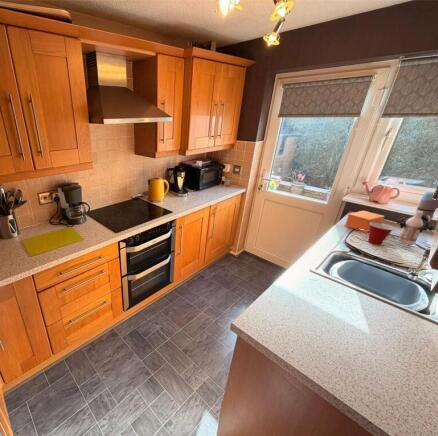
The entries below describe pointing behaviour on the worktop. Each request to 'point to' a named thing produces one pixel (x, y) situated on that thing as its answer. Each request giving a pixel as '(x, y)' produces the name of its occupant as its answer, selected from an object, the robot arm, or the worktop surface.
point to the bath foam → (411, 229)
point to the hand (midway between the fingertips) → (411, 227)
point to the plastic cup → (378, 233)
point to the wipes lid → (366, 215)
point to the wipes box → (361, 223)
